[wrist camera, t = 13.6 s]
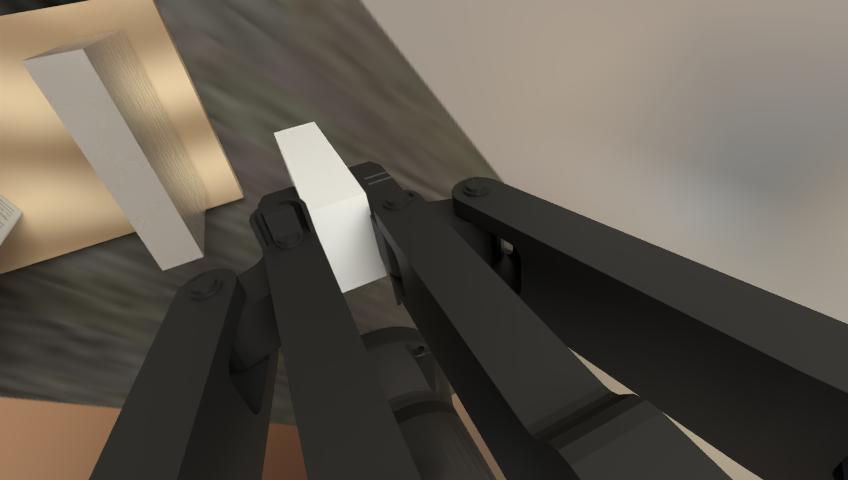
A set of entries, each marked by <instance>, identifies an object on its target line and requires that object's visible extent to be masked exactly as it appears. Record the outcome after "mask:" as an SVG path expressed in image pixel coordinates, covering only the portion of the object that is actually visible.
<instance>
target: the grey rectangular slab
mask: <svg viewBox="0 0 848 480" xmlns="http://www.w3.org/2000/svg"><path fill="white" fill-rule="evenodd" d="M21 62H22V64H23V65H24V67H25V68H26V70H27V71H28V73H29V74H30V76H31V77H32V79H33V80H34V81H35V83H36V84H37V86H38V87H39V89H40V90H41V92H42V93H43V95H44V96H45V98H46V99H47V101H48V102H49V104H50V105H51V107H52V108H53V110H54V111H55V112H56V114H57V115H58V117H59V118H60V120H61V121H62V123H63V124H64V126H65V127H66V129H67V130H68V132H69V133H70V135H71V136H72V138H73V139H74V141H75V142H76V143H77V145H78V146H79V148H80V149H81V151H82V152H83V154H84V155H85V157H86V158H87V160H88V161H89V163H90V164H91V166H92V167H93V169H94V170H95V172H96V173H97V175H98V176H99V177H100V179H101V180H102V182H103V183H104V185H105V186H106V188H107V189H108V191H109V192H110V194H111V195H112V197H113V198H114V200H115V201H116V203H117V204H118V206H119V207H120V208H121V210H122V211H123V213H124V214H125V216H126V217H127V219H128V220H129V222H130V223H131V225H132V226H133V228H134V229H135V231H136V232H137V234H138V235H139V237H140V238H141V239H142V241H143V242H144V244H145V245H146V247H147V248H148V250H149V251H150V253H151V254H152V256H153V257H154V259H155V260H156V262H157V263H158V265H159V266H160V268H161V269H162V270H163V271H164V270H167V269H169V268H172V267H175V266H178V265H181V264H184V263H187V262H190V261H193V260H196V259H199V258H202V257H204V236H205V197H206V189H205V187H204V185H203V183H202V181H201V179H200V177H199V175H198V173H197V171H196V170H195V168H194V166H193V164H192V162H191V160H190V158H189V156H188V154H187V152H186V150H185V148H184V146H183V144H182V143H181V141H180V139H179V137H178V135H177V133H176V131H175V129H174V127H173V125H172V123H171V121H170V119H169V117H168V116H167V114H166V112H165V110H164V108H163V106H162V104H161V102H160V100H159V98H158V96H157V94H156V92H155V90H154V88H153V87H152V85H151V83H150V81H149V79H148V77H147V75H146V73H145V71H144V69H143V67H142V65H141V63H140V61H139V60H138V58H137V56H136V54H135V52H134V50H133V48H132V46H131V44H130V42H129V40H128V38H127V36H126V34H125V33H124V31H123V29H120V30H115V31H110V32H105V33H100V34H95V35H90V36H84V37H81V38H78V39H76V40H73V41H71V42H68V43H65V44H63V45H60V46H58V47H55V48H53V49H50V50H48V51H45V52H43V53H40V54H38V55H35V56H33V57H30V58H28V59H25V60H23V61H21Z"/></svg>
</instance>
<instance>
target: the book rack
mask: <svg viewBox="0 0 848 480" xmlns="http://www.w3.org/2000/svg"><path fill="white" fill-rule="evenodd" d="M120 29H123V31H124V33H125V34H126V36H127V38H128V40H129V42H130V44H131V46H132V48H133V50H134V52H135V54H136V56H137V58H138V60H139V61H140V63H141V65H142V67H143V69H144V71H145V73H146V75H147V77H148V79H149V81H150V83H151V85H152V87H153V88H154V90H155V92H156V94H157V96H158V98H159V100H160V102H161V104H162V106H163V108H164V110H165V112H166V114H167V116H168V117H169V119H170V121H171V123H172V125H173V127H174V129H175V131H176V133H177V135H178V137H179V139H180V141H181V143H182V144H183V146H184V148H185V150H186V152H187V154H188V156H189V158H190V160H191V162H192V164H193V166H194V168H195V170H196V171H197V173H198V175H199V177H200V179H201V181H202V183H203V185H204V187H205V189H206V197H205V210H206V209H209V208H212V207H215V206H219V205H222V204H225V203H228V202H231V201H235V200H238V199H241V198H244V196H243V191H242V188H241V186H240V184H239V182H238V180H237V178H236V175H235V173H234V171H233V169H232V167H231V165H230V162H229V160H228V158H227V156H226V154H225V151H224V149H223V147H222V145H221V143H220V141H219V138H218V136H217V134H216V132H215V130H214V128H213V125H212V123H211V121H210V119H209V117H208V114H207V112H206V110H205V108H204V106H203V104H202V101H201V99H200V97H199V95H198V93H197V91H196V88H195V86H194V84H193V82H192V80H191V77H190V75H189V73H188V71H187V69H186V67H185V64H184V62H183V60H182V58H181V56H180V54H179V51H178V49H177V47H176V45H175V43H174V40H173V38H172V36H171V34H170V32H169V30H168V27H167V25H166V23H165V21H164V19H163V17H162V14H161V12H160V10H159V8H158V6H157V3H156V1H155V0H90V1H84V2H78V3H73V4H67V5H61V6H56V7H50V8H44V9H38V10H33V11H27V12H21V13H16V14H10V15H4V16H0V195H1V196H2V197H3V198H5V199H6V200H7V201H9V202H10V203H11V204H13V205H14V206H15V207H17V208H18V209H19V210H21V211H22V215H21V217H20V218H19V220H18V221H17V223H16V224H15V225H14V227H13V228H12V230H11V231H10V233H9V234H8V235H7V237H6V238H5V240H4V241H3V242H2V244H1V245H0V274H2V273H5V272H9V271H12V270H15V269H18V268H21V267H24V266H28V265H31V264H34V263H37V262H40V261H44V260H47V259H50V258H53V257H56V256H59V255H63V254H66V253H69V252H72V251H75V250H79V249H82V248H85V247H88V246H91V245H94V244H98V243H101V242H104V241H107V240H110V239H114V238H117V237H120V236H123V235H126V234H129V233H133V232H136V231H135V229H134V228H133V226H132V225H131V223H130V222H129V220H128V219H127V217H126V216H125V214H124V213H123V211H122V210H121V208H120V207H119V206H118V204H117V203H116V201H115V200H114V198H113V197H112V195H111V194H110V192H109V191H108V189H107V188H106V186H105V185H104V183H103V182H102V180H101V179H100V177H99V176H98V175H97V173H96V172H95V170H94V169H93V167H92V166H91V164H90V163H89V161H88V160H87V158H86V157H85V155H84V154H83V152H82V151H81V149H80V148H79V146H78V145H77V143H76V142H75V141H74V139H73V138H72V136H71V135H70V133H69V132H68V130H67V129H66V127H65V126H64V124H63V123H62V121H61V120H60V118H59V117H58V115H57V114H56V112H55V111H54V110H53V108H52V107H51V105H50V104H49V102H48V101H47V99H46V98H45V96H44V95H43V93H42V92H41V90H40V89H39V87H38V86H37V84H36V83H35V81H34V80H33V79H32V77H31V76H30V74H29V73H28V71H27V70H26V68H25V67H24V65H23V64H22V62H21V61H23V60H25V59H28V58H30V57H33V56H35V55H38V54H40V53H43V52H45V51H48V50H50V49H53V48H55V47H58V46H60V45H63V44H65V43H68V42H71V41H73V40H76V39H78V38H81V37H84V36H90V35H95V34H100V33H105V32H110V31H115V30H120Z"/></svg>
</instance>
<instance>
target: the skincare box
mask: <svg viewBox="0 0 848 480" xmlns="http://www.w3.org/2000/svg"><path fill="white" fill-rule="evenodd" d="M21 215H22V211H21V210H19V209H18V208H17V207H15V206H14V205H13V204H11V203H10V202H9V201H7V200H6V199H5V198H3V197H2V196H1V195H0V245H1V244H2V242H3V241H4V240H5V238H6V237H7V235H8V234H9V233H10V231H11V230H12V228H13V227H14V225H15V224H16V223H17V221H18V220H19V218H20V217H21Z"/></svg>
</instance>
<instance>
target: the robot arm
mask: <svg viewBox="0 0 848 480" xmlns="http://www.w3.org/2000/svg"><path fill="white" fill-rule="evenodd" d="M274 135H275V138H276V140H277V143H278V146H279V148H280V151H281V154H282V156H283V159H284V162H285V164H286V167H287V170H288V172H289V175H290V178H291V180H292V183H293V187H290V188H287V189H284V190H280V191H277V192H274V193H271V194H268V195H265V196H263V197H262V199H261V201H260V203H259V204H258V209H257V210H255V211H254V213H253V214H252V215H251V216H250V220H249V222H250V225H251V227H252V229H253V231H254V233H255V235H256V237H257V239H258V241H259V244H260V246H261V248H262V250H263V255H264V256H263V257H262V259H261V260H260V261H259V262H258V263H257V264H256V265H255V266H253V267H252V268H250V269H249V270H247V271H245V272H244V273H242V274H240V275H238V276H236V274H235V273H234V272H233V271H232V270H228V269H214V270H210V271H207V272H203V273H201V274H199V275H198V276H195V277H193V278H192V279H190V280H189V281H188V282H187V283H185V284H184V285H183V286H182V287H181V288H180V289H179V291H178V292H177V293H176V295H175V297H174V299H173V301H172V303H171V305H170V307H169V310H168V312H167V314H166V316H165V318H164V320H163V322H162V325H161V327H160V329H159V331H158V333H157V335H156V337H155V339H154V342H153V344H152V346H151V348H150V350H149V352H148V354H147V357H146V359H145V361H144V363H143V365H142V367H141V369H140V372H139V374H138V376H137V378H136V380H135V382H134V384H133V386H132V389H131V391H130V393H129V395H128V397H127V399H126V401H125V404H124V406H123V408H122V410H121V412H120V414H119V416H118V418H117V421H116V423H115V425H114V427H113V429H112V431H111V433H110V436H109V438H108V440H107V442H106V444H105V446H104V448H103V450H102V453H101V455H100V457H99V459H98V461H97V463H96V465H95V468H94V470H93V472H92V474H91V476H90V478H89V480H261V479H262V471H263V464H264V456H265V450H266V442H267V434H268V428H269V421H270V413H271V406H272V399H273V392H274V384H275V377H276V370H277V363H278V351H277V348H279V347H280V346H282V351H283V356H284V361H285V366H286V371H287V376H288V381H289V386H290V391H291V396H292V401H293V407H294V412H295V417H296V422H297V427H298V432H299V437H300V442H301V447H302V452H303V457H304V462H305V467H306V472H307V477H308V480H496V478H495V476H494V474H493V473H492V471H491V469H490V468H489V466H488V464H487V463H486V461H485V459H484V458H483V456H482V454H481V452H480V451H479V449H478V447H477V445H476V444H475V442H474V440H473V439H472V437H471V435H470V434H469V432H468V430H467V428H466V427H465V425H464V423H463V422H462V420H461V419H460V417H459V415H458V413H457V412H456V410H455V408H454V406H453V402H452V397H451V392H450V387H449V382H450V384H451V386H452V388H453V389H454V391H455V393H456V394H457V396H458V398H459V399H460V401H461V403H462V405H463V406H464V408H465V410H466V411H467V413H468V415H469V416H470V418H471V420H472V421H473V423H474V425H475V426H476V428H477V430H478V432H479V433H480V435H481V437H482V439H483V440H484V442H485V443H486V445H487V447H488V449H489V450H490V452H491V454H492V456H493V457H494V459H495V460H496V462H497V464H498V466H499V467H500V469H501V471H502V473H503V474H504V476H505V478H506V479H507V480H732V479H731V478H730V477H729V476H728V475H727V474H726V473H725V472H724V471H723V470H722V469H721V468H720V467H719V466H718V465H717V464H716V463H715V462H714V461H713V460H712V459H710V458H709V457H708V456H707V455H706V454H705V453H704V452H703V451H702V450H701V449H700V448H699V447H698V446H697V445H696V444H695V443H694V442H693V441H692V440H691V439H690V438H689V437H688V436H687V435H686V434H684V433H683V432H682V431H681V430H680V429H679V428H678V427H677V426H676V425H675V424H674V423H673V422H672V421H671V420H670V419H669V418H668V417H667V416H666V415H668V416H669V417H671V418H672V419H674V420H675V421H677V422H679V423H680V424H681V425H683V426H684V427H685V428H687V429H688V430H690V431H691V432H693V433H694V434H696V435H697V436H699V437H700V438H702V439H703V440H704V441H706V442H707V443H709V444H710V445H712V446H713V447H715V448H716V449H718V450H719V451H721V452H722V453H723V454H725V455H726V456H728V457H729V458H731V459H732V460H734V461H735V462H737V463H738V464H740V465H741V466H743V467H744V468H746V469H747V470H749V471H751V472H752V473H754V474H755V475H757V476H758V477H760V478H762V479H763V480H848V324H846V323H844V322H841V321H839V320H836V319H834V318H832V317H829V316H827V315H824V314H822V313H819V312H817V311H814V310H812V309H810V308H807V307H805V306H802V305H800V304H797V303H795V302H792V301H790V300H788V299H785V298H783V297H780V296H778V295H775V294H773V293H770V292H768V291H765V290H763V289H761V288H758V287H756V286H753V285H751V284H749V283H746V282H744V281H741V280H739V279H736V278H733V277H731V276H729V275H726V274H724V273H722V272H719V271H717V270H714V269H712V268H709V267H707V266H705V265H702V264H699V263H697V262H695V261H692V260H690V259H687V258H684V257H682V256H680V255H677V254H675V253H673V252H670V251H668V250H665V249H663V248H661V247H658V246H656V245H653V244H651V243H648V242H646V241H643V240H641V239H639V238H636V237H634V236H631V235H629V234H626V233H624V232H621V231H619V230H617V229H614V228H612V227H609V226H607V225H604V224H602V223H599V222H597V221H595V220H592V219H590V218H587V217H585V216H582V215H580V214H577V213H575V212H572V211H570V210H568V209H565V208H563V207H560V206H558V205H556V204H553V203H551V202H548V201H546V200H543V199H541V198H538V197H536V196H534V195H531V194H528V193H526V192H524V191H521V190H519V189H516V188H514V187H511V186H509V185H507V184H504V183H502V182H499V181H497V180H494V179H490V178H485V177H473V178H468V179H466V180H463V181H461V182H459V183H457V184H456V185H455V186H454V187H453V189H452V199H447V200H440V201H431V202H429V201H426V200H425V199H424V198H423V197H422V196H421V195H420V194H418V193H417V192H415V191H410V190H403V189H402V188H401V187H400V186H399V185H398V184H397V182H396V181H395V180H394V179H393V178H392V177H391V176H390V175H389V174H388V173H387V172H386V170H385V169H384V168H383V167H382V166H381V165H379V164H376V163H373V162H370V161H369V162H365V163H362V164H359V165H356V166H353V167H350V168H347V167H346V165H345V164H344V163H343V161H342V160H341V158H340V157H339V156H338V154H337V153H336V152H335V150H334V149H333V147H332V146H331V145H330V143H329V142H328V140H327V139H326V138H325V136H324V135H323V134H322V132H321V131H320V129H319V128H318V127H317V125H316V124H315V123H314V122H311V123H307V124H304V125H300V126H297V127H293V128H289V129H286V130H282V131H279V132H275V133H274ZM504 240H505V241H507V242H509V243H510V244H511V245H513V251H511V250H509V249H507V248H505V247H504ZM384 264H385V266H386V267H387V269H388V270H389V273H390V277H391V281H392V285H393V289H394V293H395V297H396V301H397V305H400V304H401V301H402V302H403V304H404V306H405V308H406V309H407V311H408V313H409V314H410V316H411V318H412V319H413V321H414V323H415V325H416V326H417V328H418V330H416V329H412V328H406V327H393V328H385V329H381V330H377V331H374V332H371V333H368V334H365V335H363V336H360V334H359V331H358V329H357V327H356V324H355V322H354V320H353V317H352V315H351V313H350V310H349V308H348V306H347V303H346V301H345V298H344V296H343V294H342V293H344V292H347V291H349V290H352V289H354V288H357V287H359V286H362V285H364V284H367V283H369V282H372V281H374V280H377V279H379V278H382V277H385V276H387V274H386V270H385V266H384ZM400 299H401V300H400ZM569 348H570V349H571V350H573V351H575V352H576V353H577V354H579V355H580V356H582V357H583V358H585V359H586V360H587V361H589V362H590V363H592V364H593V365H595V366H596V367H598V368H599V369H601V370H602V371H604V372H605V373H607V374H608V375H609V376H611V377H612V378H614V379H615V380H617V381H618V382H620V383H621V384H623V385H624V386H626V387H627V388H628V389H630V390H631V391H633V392H634V393H636V394H637V395H639V396H637V395H635V394H622V395H618V394H616V393H614V392H612V391H610V390H609V389H608V388H607V387H606V386H604V385H603V384H602V383H601V381H600V380H599V379H598V378H597V377H596V376H595V375H594V374H593V373H592V372H591V371H590V370H589V369H588V368H587V367H586V366H585V365H584V364H583V363H582V362H581V361H580V360H579V359H578V358H577V357H576V356H575V355H574V353H573V352H572V351H571V350H570V349H569ZM660 410H661V411H660ZM663 413H665V414H666V415H665V414H663Z"/></svg>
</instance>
